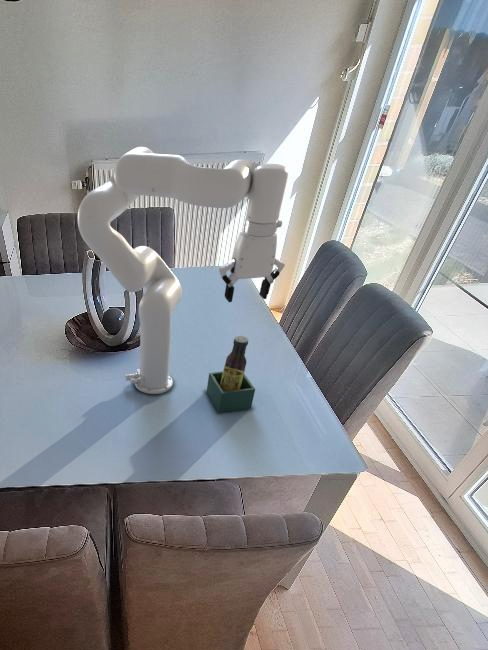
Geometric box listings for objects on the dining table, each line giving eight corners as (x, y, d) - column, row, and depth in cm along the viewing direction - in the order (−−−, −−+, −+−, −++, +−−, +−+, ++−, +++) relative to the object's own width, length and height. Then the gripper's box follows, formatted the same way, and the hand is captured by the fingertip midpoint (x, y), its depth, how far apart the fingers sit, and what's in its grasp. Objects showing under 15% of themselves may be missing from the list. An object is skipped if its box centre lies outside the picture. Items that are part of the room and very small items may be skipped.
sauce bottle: (215, 399, 144) (225, 341, 129) (221, 389, 148) (231, 331, 133) (235, 405, 142) (247, 346, 127) (241, 394, 145) (254, 336, 131)
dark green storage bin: (218, 412, 141) (221, 393, 136) (206, 391, 149) (209, 372, 144) (250, 408, 142) (255, 389, 137) (237, 387, 150) (241, 369, 145)
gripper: (287, 220, 113) (270, 290, 126) (220, 225, 111) (210, 295, 124) (300, 230, 108) (281, 301, 121) (231, 235, 106) (219, 307, 119)
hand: (245, 298), depth 122 cm, fingers open, 9 cm apart
